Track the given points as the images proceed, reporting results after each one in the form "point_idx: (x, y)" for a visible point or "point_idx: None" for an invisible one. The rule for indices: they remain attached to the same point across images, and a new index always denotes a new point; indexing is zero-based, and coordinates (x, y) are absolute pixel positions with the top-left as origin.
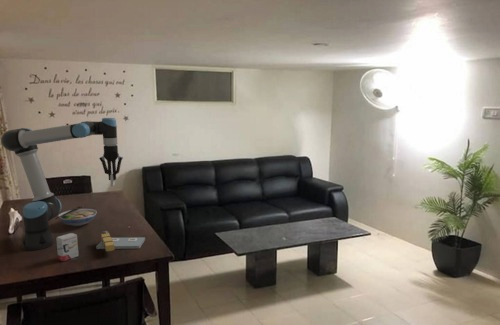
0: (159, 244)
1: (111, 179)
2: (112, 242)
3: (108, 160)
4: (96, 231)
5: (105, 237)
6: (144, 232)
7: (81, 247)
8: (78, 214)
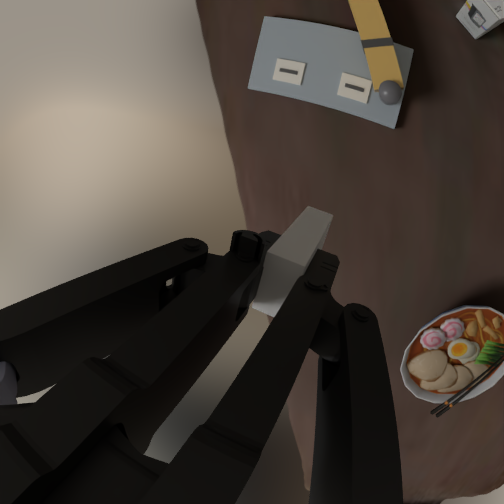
0: (209, 44)
1: (306, 236)
2: None
3: (179, 497)
4: (419, 243)
5: (380, 37)
6: (254, 166)
7: (464, 89)
8: (456, 366)
